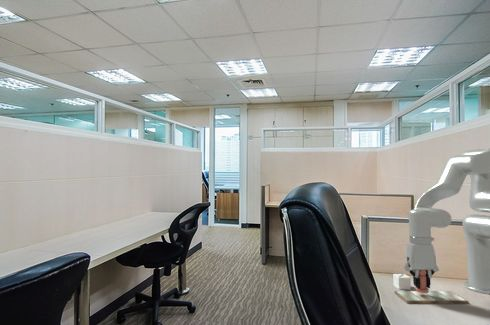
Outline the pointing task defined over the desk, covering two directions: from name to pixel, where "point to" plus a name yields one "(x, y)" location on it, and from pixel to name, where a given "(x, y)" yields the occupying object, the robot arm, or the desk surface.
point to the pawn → (422, 282)
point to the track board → (431, 297)
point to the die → (402, 281)
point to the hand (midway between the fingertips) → (422, 286)
